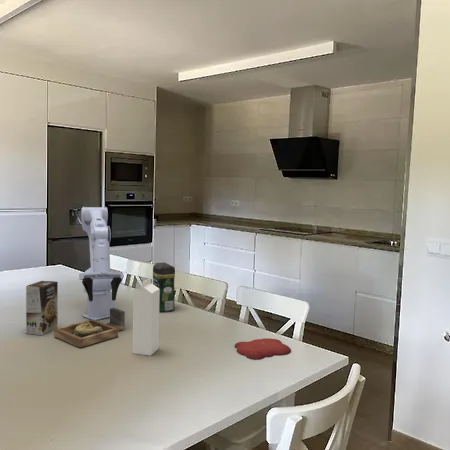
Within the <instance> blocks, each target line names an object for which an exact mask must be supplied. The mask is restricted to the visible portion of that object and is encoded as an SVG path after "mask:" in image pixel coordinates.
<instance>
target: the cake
mask: <svg viewBox="0 0 450 450" xmlns="http://www.w3.org/2000/svg"><path fill="white" fill-rule="evenodd" d="M100 332H103V330H102V328H101V327H98V326H97V327H94V328H93V326H91V323H89V322H87V323H85V324H81V325H78V326H77V327H76V328H75V331H74V333H73V335H76V336H78V337H81V338H82V337H86V336H89V335H93V334H96V333H100Z"/></svg>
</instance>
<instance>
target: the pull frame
mask: <svg viewBox="0 0 450 450" xmlns="http://www.w3.org/2000/svg"><path fill="white" fill-rule="evenodd" d="M125 314H126V311H125V310H122V309H118V308H116V307H114V308H111V309H110V317H109V323H103V322H100V321H99V320H92V319H88V320H84V321H80V322H76V323H72V324H68V325H64V326H60V327H57V328H55V329H53V337H54V338H56V339H59V340H61V341H64V342H66V343H68V344H71V345H73V346H75V347H77V348H84V347H88V346H91V345H93V344H96V343H100V342H104V341H107V340H110V339H114V338H116V337H119V331H123V330H125V328H126V326H125V317H126V315H125ZM87 322H89V323H91V326H93V328H94V327H97V326H98V327H101V328H102V330H103V332H100V333H96V334H93V335H89V336H86V337H82V338H81V337H78V336H76V335H74V331H75V328H76V327H77V326H78V325H81V324H85V323H87Z"/></svg>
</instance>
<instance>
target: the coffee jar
mask: <svg viewBox="0 0 450 450" xmlns="http://www.w3.org/2000/svg"><path fill="white" fill-rule="evenodd" d="M175 269H176V268H175V267H174V266H173V265H171V264H168V263H167V262H156V263H155V264H154V265H153V266H152V284H153V285H155V286H156V287H158V288H159V289H160V295H159V313H160V312H162V313H168V312H171V311H174V310H175V276H176V270H175Z"/></svg>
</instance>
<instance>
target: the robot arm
mask: <svg viewBox="0 0 450 450" xmlns="http://www.w3.org/2000/svg"><path fill="white" fill-rule="evenodd" d="M80 209H81V210H80V212H81V214H80V216H81V217H80V219H81V228H82V231H84V232H86V234H87V237H88V240H89V241H88V242H89V243H88V244H89V262H90V267H89V268H88V269H86V270H85V271H84V272H81V273H79V275H78V277H79V279H78V280H79V281H81V280H82V281H81V283H82V285H83V292H84V293H86V294H87V295H86V296H87V301H86V302H87V304H86V305H87V310H86V311H87V313H86V314H85V313H84V314H82V317H84V318H87V319H88V320H91V319H92V320H95V321H99V320H102V319H106V318H110V309H111V308H115V301H116V300H117V294H118V290H119V287H120V285H121V283H122V280H124V278H125V277H124V272H114V271H113V272H112V271H111V257H110V256H111V255H110V253H111V251H110V250H111V249H110V243H111V238H112V236H111V235H112V232H111V228H110V225H108V219H109V218H108V217H109V214H108V213H109V212H108V207H107V206H104V207H101V206H100V207H97V206H96V207H95V206H94V207H93V206H91V207H90V206H89V207H87V206H82V208H80Z"/></svg>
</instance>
